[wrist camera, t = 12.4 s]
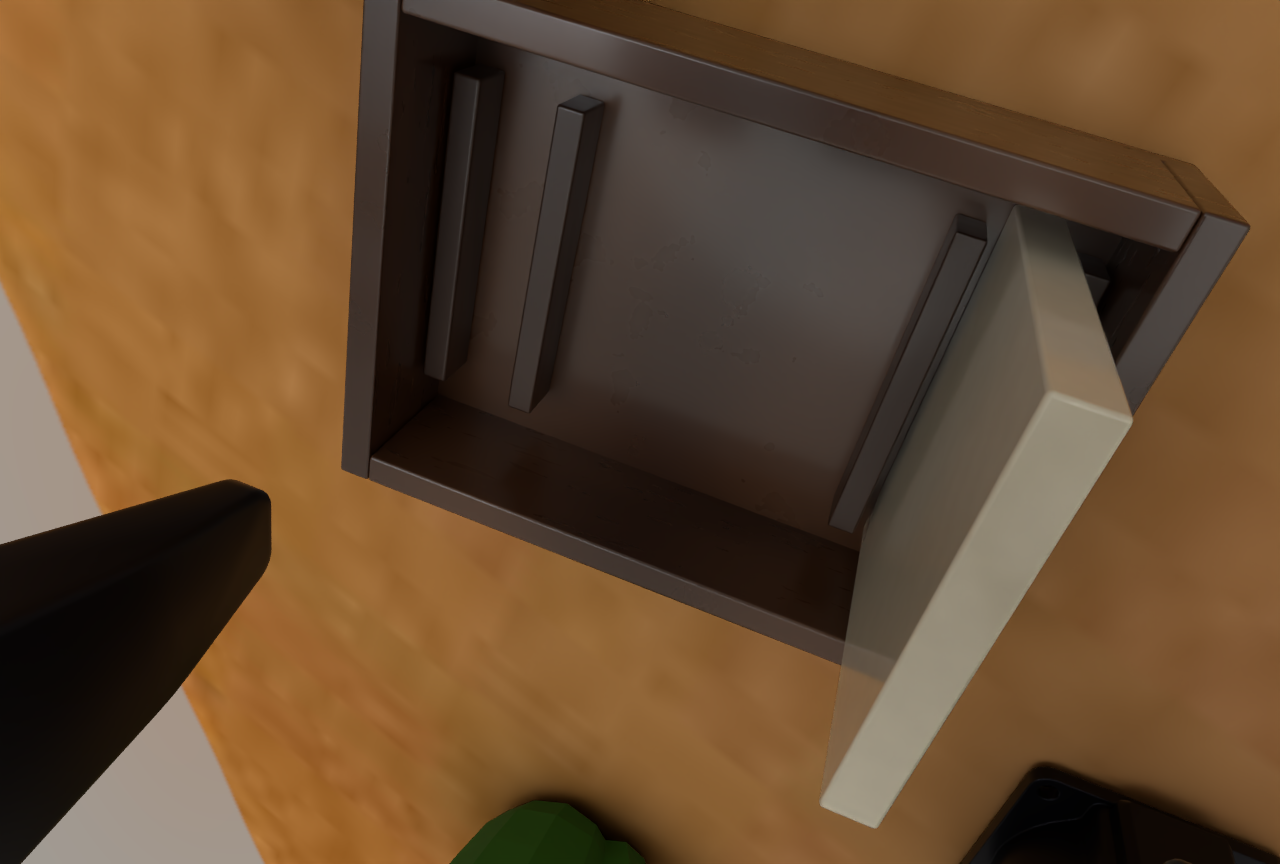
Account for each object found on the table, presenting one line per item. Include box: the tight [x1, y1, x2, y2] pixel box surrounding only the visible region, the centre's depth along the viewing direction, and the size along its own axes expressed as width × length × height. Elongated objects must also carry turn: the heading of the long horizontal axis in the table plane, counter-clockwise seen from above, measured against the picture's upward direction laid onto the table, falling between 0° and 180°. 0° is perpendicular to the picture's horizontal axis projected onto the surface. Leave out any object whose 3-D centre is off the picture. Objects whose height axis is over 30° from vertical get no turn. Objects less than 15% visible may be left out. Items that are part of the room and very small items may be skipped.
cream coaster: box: [819, 205, 1133, 829], centre depth 16 cm, size 1×8×8 cm, turn 167°
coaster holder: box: [341, 0, 1251, 665], centre depth 18 cm, size 14×11×4 cm
